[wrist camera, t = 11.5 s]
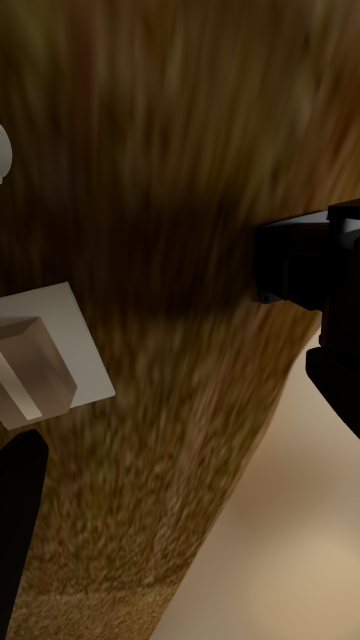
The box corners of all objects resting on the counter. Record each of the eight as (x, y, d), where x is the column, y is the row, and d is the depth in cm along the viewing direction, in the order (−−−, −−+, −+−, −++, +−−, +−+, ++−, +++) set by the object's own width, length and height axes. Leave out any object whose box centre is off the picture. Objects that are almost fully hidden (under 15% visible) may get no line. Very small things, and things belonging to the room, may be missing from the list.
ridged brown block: (77, 386, 20) (67, 414, 17) (26, 401, 19) (7, 432, 17) (40, 316, 17) (20, 335, 14) (-22, 332, 17) (-55, 354, 14)
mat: (67, 281, 17) (66, 282, 16) (115, 392, 21) (114, 395, 21) (-74, 315, 16) (-79, 317, 15) (7, 422, 20) (5, 426, 20)
